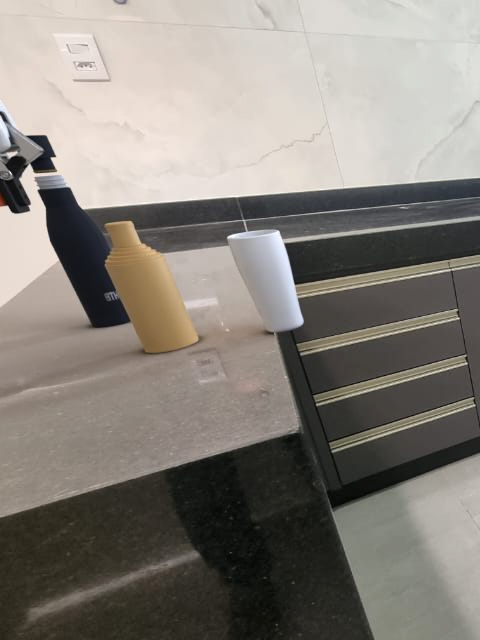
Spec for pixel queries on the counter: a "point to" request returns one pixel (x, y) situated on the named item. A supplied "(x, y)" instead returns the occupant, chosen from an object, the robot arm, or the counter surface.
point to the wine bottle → (77, 243)
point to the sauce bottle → (148, 292)
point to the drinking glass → (267, 278)
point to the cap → (2, 201)
